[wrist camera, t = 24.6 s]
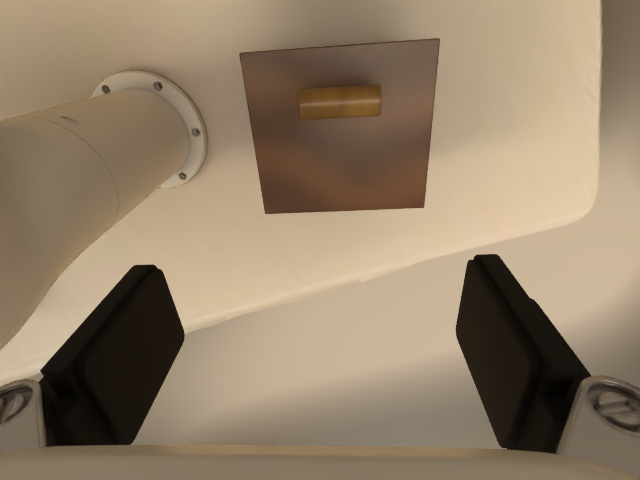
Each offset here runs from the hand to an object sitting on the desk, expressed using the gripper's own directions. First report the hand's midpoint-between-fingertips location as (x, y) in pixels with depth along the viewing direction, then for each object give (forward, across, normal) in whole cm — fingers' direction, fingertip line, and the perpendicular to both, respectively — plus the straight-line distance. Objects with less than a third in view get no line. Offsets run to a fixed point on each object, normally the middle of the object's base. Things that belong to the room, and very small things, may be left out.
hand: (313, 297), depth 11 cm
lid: (+19, -1, 0) cm, 19 cm away
